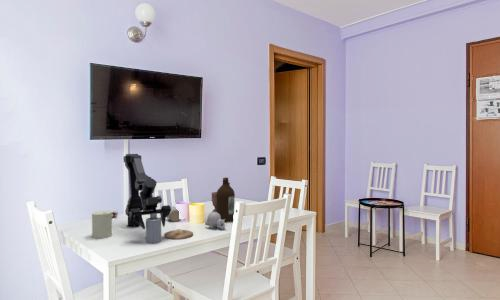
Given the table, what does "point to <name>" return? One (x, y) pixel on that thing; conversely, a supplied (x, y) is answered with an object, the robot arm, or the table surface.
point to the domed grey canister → (153, 229)
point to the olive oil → (225, 201)
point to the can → (101, 224)
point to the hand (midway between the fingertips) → (154, 227)
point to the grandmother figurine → (114, 213)
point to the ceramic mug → (173, 214)
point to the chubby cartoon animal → (215, 221)
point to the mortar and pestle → (215, 200)
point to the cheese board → (178, 234)
